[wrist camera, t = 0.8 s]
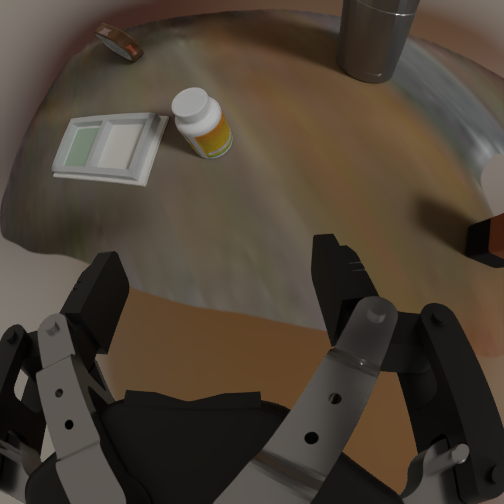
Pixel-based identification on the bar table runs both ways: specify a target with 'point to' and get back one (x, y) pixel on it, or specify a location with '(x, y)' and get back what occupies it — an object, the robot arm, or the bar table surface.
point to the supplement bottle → (202, 123)
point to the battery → (487, 241)
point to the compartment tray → (110, 148)
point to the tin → (119, 42)
